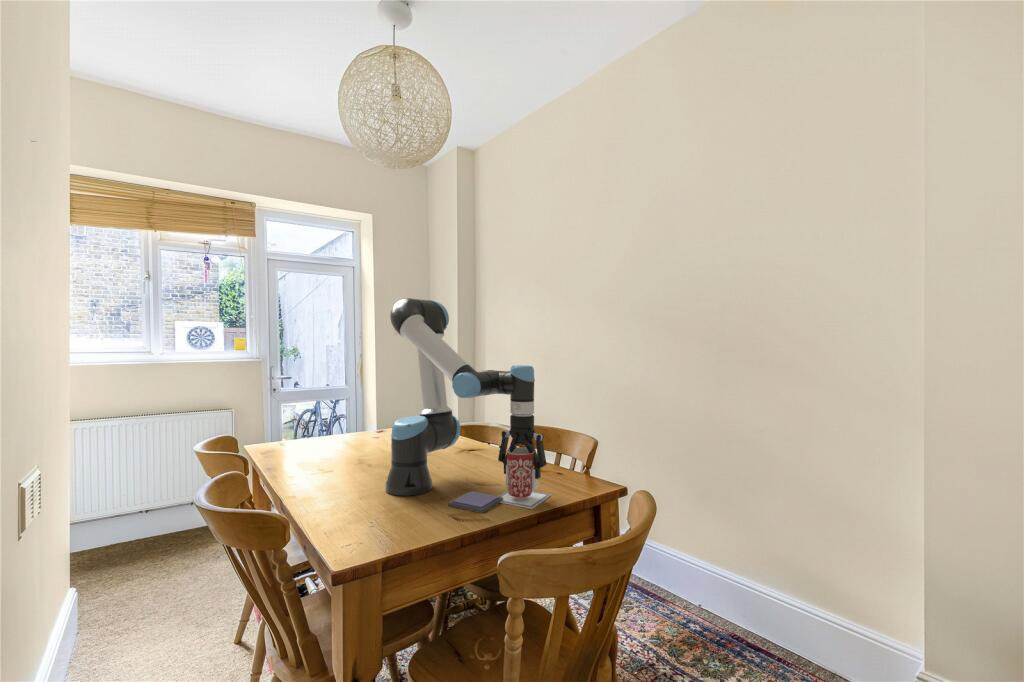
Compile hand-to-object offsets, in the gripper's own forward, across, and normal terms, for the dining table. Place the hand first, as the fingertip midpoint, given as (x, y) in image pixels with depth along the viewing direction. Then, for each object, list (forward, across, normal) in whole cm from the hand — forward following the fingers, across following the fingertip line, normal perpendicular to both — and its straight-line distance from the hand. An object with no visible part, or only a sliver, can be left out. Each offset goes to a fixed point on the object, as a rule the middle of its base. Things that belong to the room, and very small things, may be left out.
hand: (521, 486), depth 145 cm
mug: (+2, -1, 0) cm, 2 cm away
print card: (+4, 0, 0) cm, 4 cm away
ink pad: (+4, -10, -11) cm, 15 cm away
